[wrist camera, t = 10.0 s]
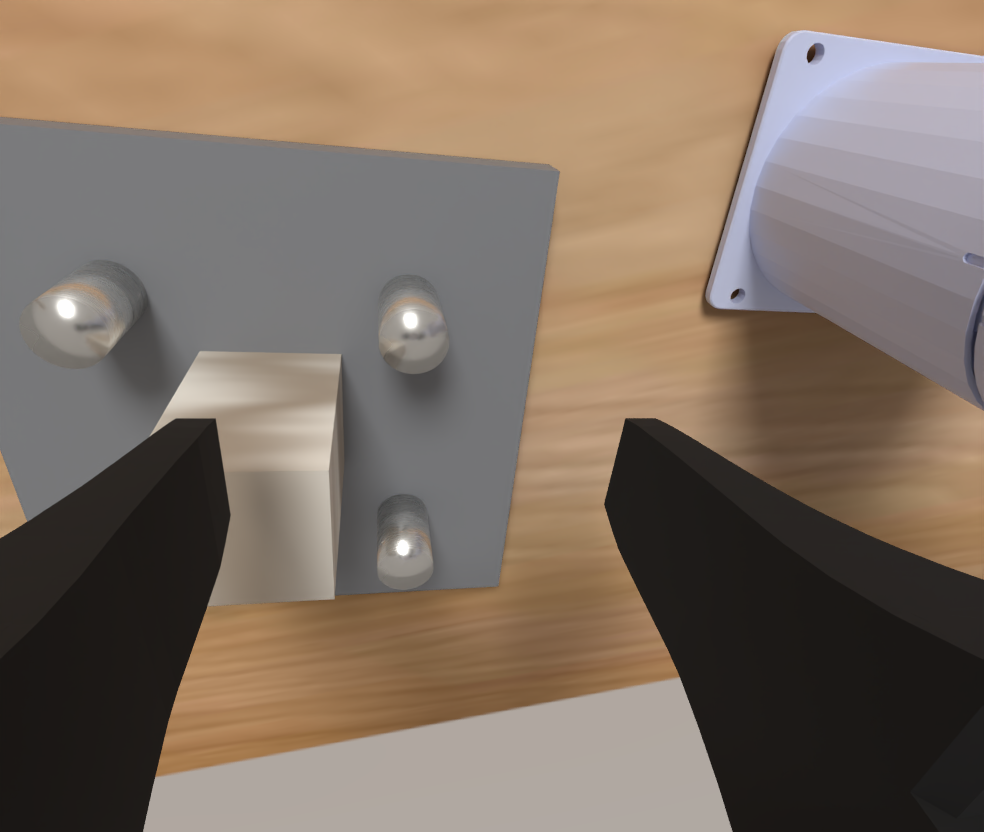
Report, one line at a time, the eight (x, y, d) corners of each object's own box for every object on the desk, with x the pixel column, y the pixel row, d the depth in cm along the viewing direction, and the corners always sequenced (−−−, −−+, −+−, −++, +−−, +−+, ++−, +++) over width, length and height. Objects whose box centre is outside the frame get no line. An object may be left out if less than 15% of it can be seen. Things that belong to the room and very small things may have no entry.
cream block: (341, 353, 18) (328, 470, 13) (344, 462, 20) (334, 599, 15) (199, 351, 17) (128, 473, 12) (217, 463, 19) (161, 608, 14)
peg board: (548, 164, 17) (590, 191, 14) (493, 565, 25) (511, 643, 22) (-92, 108, 14) (-236, 126, 11) (75, 585, 22) (22, 679, 19)
